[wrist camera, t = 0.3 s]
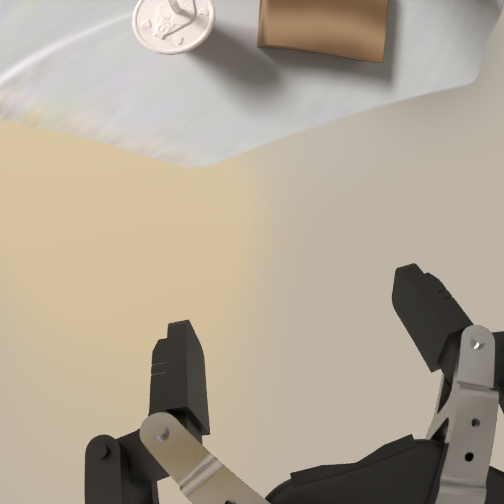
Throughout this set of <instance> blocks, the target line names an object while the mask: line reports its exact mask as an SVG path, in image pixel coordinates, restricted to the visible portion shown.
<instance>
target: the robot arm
mask: <svg viewBox="0 0 504 504" xmlns="http://www.w3.org/2000/svg"><path fill="white" fill-rule="evenodd" d="M392 303H393V307H394V309H395V311H396V313H397V314H398V316H399V318H400V319H401V321H402V323H403V324H404V326H405V328H406V329H407V331H408V333H409V334H410V336H411V338H412V339H413V341H414V343H415V345H416V346H417V348H418V350H419V351H420V353H421V355H422V357H423V359H424V360H425V362H426V364H427V366H428V367H429V369H430V371H431V372H434V371H436V370H439V369H441V370H442V372H443V375H442V378H441V384H440V390H439V394H438V399H437V404H436V409H435V413H434V417H433V420H432V423H431V425H430V427H429V429H428V432H427V435H426V438H425V439H415V440H414V438H413V436H412V434H410V435H408V436H406V437H403V438H401V439H398V440H396V441H393V442H391V443H388V444H385V445H383V446H382V447H381V448H379V449H377V450H376V451H375V452H373V453H371V454H370V455H368V456H367V457H365V458H363V459H362V460H360V461H358V462H356V463H351V464H336V465H321V466H317V467H313V468H309V469H305V470H301V471H297V472H293V473H290V475H291V479H289V480H287V481H285V482H283V483H282V484H280V485H278V486H277V487H276V488H275V489H273V490H272V491H271V492H270V493H269V494H268V495H267V496H266V497H265V499H264V498H263V497H261V496H260V495H259V494H258V493H256V492H255V491H254V490H253V489H252V488H250V487H249V486H248V485H247V484H245V483H244V482H243V481H242V480H241V479H240V478H238V477H237V476H236V475H235V474H234V473H233V472H231V471H230V470H229V469H228V468H227V467H226V466H225V465H223V464H222V463H221V462H220V461H219V460H218V459H217V458H215V457H214V456H213V455H212V454H211V453H210V452H209V451H208V450H207V449H206V448H205V447H204V446H203V445H202V435H209V434H210V426H209V415H208V403H207V391H206V376H205V362H204V354H203V350H202V347H201V344H200V342H199V340H198V338H197V336H196V334H195V331H194V329H193V327H192V325H191V323H190V321H189V320H184V321H179V322H174V323H169V324H168V333H167V338H165V339H160V340H158V342H157V344H156V346H155V348H154V350H153V353H152V368H151V375H152V376H151V384H150V406H149V407H150V409H149V415H148V418H146V419H145V420H144V421H143V423H142V425H141V427H140V428H139V429H138V430H137V431H135V432H132V433H130V434H128V435H125V436H123V437H120V438H118V439H114V438H113V437H111V436H109V435H99V436H97V437H95V438H93V439H92V440H91V441H90V442H89V444H88V446H87V448H86V453H85V504H159V498H158V488H157V481H158V480H161V479H164V478H166V477H169V476H171V477H172V478H173V479H174V480H175V481H176V483H177V484H178V485H179V486H180V490H181V491H182V493H183V494H184V495H185V496H186V497H187V498H188V499H189V500H190V501H191V502H192V503H193V504H504V472H502V471H500V470H498V469H496V468H494V467H491V466H489V464H490V458H491V453H492V448H493V442H494V435H495V429H496V428H495V427H496V421H497V412H498V402H499V404H500V407H501V408H502V411H503V413H504V331H502V332H493V333H491V332H490V331H489V330H488V329H487V328H485V327H483V326H480V325H474V324H473V323H472V322H471V320H470V319H469V318H468V316H467V315H466V314H465V312H464V311H463V310H462V308H461V307H460V306H459V304H458V303H457V302H456V301H455V299H454V298H452V295H451V294H450V293H449V291H448V290H446V288H445V287H444V285H443V284H442V283H441V281H440V280H439V279H437V278H436V277H435V276H433V275H431V274H430V273H425V274H424V273H423V272H422V271H421V269H420V268H419V267H418V266H417V265H416V264H414V263H413V264H410V265H406V266H403V267H399V268H397V269H396V271H395V278H394V285H393V292H392Z"/></svg>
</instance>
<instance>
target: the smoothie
mask: <svg viewBox="0 0 504 504" xmlns="http://www.w3.org/2000/svg"><path fill="white" fill-rule="evenodd" d="M214 22H215V8H214V4H213V1H212V0H139V2H138V3H137V5H136V7H135V9H134V13H133V17H132V25H133V30H134V33H135V35H136V37H137V38H138V40H139V41H140V42H141V43H142V44H143V45H144V46H145V47H147V48H148V49H150V50H151V51H154V52H157V53H159V54H166V55H174V54H182V53H184V52H187V51H190V50H192V49H194V48H195V47H197V46H198V45H200V44H201V43H202V42H203V41H204V40H205V39H206V38H207V37H208V36H209V34H210V32H211V30H212V29H213V26H214Z"/></svg>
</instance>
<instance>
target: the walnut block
mask: <svg viewBox="0 0 504 504" xmlns="http://www.w3.org/2000/svg"><path fill="white" fill-rule="evenodd" d="M387 2H388V0H260V12H259V29H258V45H257V47H265V48H277V49H288V50H297V51H305V52H313V53H320V54H326V55H332V56H338V57H344V58H349V59H354V60H359V61H368V62H377V63H383V55H384V45H385V33H386V19H387Z"/></svg>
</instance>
